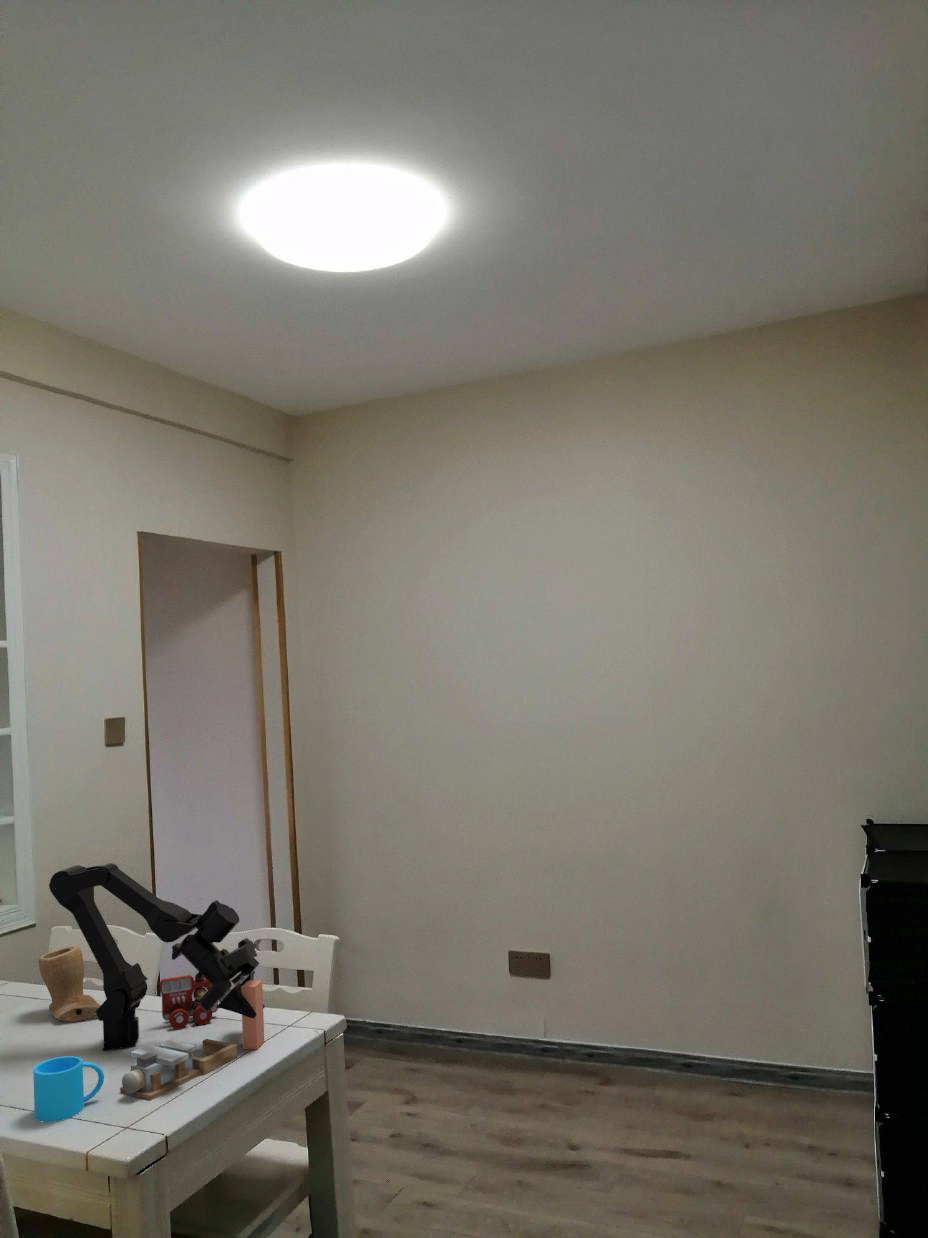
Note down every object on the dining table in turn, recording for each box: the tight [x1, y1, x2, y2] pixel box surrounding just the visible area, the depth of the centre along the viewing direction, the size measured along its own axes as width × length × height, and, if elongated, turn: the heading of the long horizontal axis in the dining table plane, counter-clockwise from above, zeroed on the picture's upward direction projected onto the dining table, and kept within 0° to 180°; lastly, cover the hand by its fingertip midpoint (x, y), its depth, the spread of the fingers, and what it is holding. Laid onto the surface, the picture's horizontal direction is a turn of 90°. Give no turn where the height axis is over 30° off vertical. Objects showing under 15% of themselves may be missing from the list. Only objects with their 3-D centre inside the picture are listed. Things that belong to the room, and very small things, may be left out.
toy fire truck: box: [158, 972, 219, 1030], centre depth 220 cm, size 7×12×10 cm, turn 114°
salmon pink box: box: [241, 980, 265, 1050], centre depth 204 cm, size 3×4×12 cm
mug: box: [32, 1055, 105, 1123], centre depth 178 cm, size 12×8×8 cm
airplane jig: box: [119, 1038, 238, 1101], centre depth 191 cm, size 23×11×6 cm, turn 149°
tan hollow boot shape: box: [38, 945, 101, 1023], centre depth 229 cm, size 15×12×15 cm
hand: (259, 1013), depth 204 cm, fingers closed on salmon pink box, 4 cm apart
